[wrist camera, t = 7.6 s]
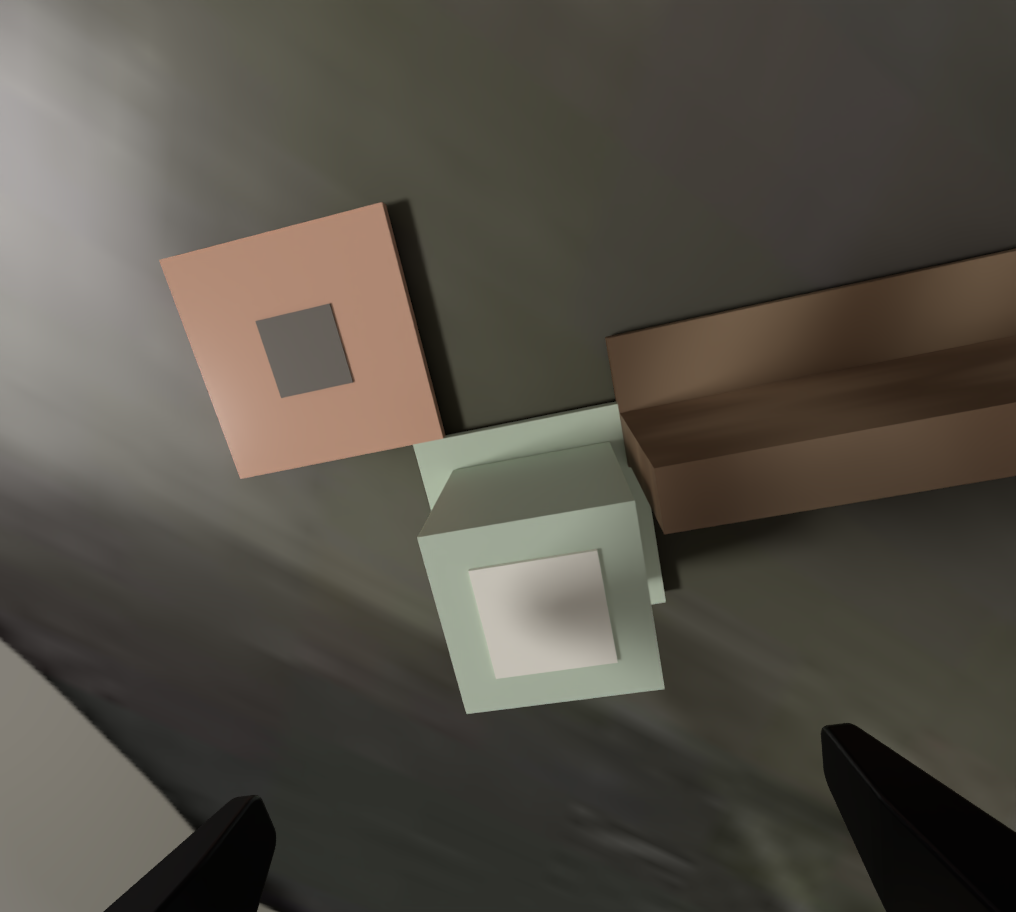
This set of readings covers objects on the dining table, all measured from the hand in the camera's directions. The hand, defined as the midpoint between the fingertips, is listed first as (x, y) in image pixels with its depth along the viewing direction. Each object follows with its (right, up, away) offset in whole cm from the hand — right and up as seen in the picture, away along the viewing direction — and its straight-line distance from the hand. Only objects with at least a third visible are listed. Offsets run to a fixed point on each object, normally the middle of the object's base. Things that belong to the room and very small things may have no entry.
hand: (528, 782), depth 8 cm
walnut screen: (+10, +7, +8) cm, 15 cm away
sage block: (+1, +3, +9) cm, 10 cm away
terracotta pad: (-7, +8, +8) cm, 14 cm away
